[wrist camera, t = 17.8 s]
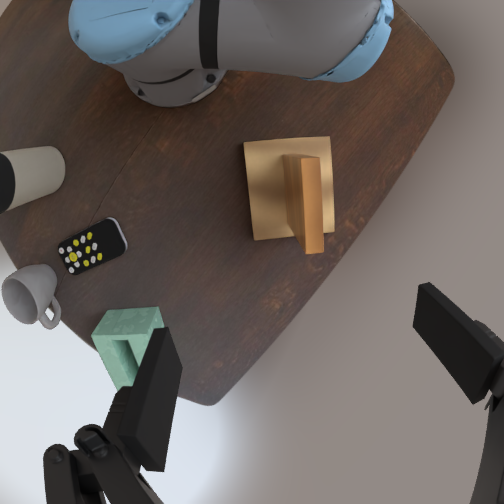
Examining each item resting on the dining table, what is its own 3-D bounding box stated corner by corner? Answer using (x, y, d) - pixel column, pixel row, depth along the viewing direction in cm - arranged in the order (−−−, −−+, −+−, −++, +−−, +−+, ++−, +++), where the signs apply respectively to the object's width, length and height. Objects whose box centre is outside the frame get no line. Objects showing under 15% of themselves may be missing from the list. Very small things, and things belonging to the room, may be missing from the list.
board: (243, 142, 39) (243, 142, 38) (326, 136, 39) (329, 136, 38) (253, 237, 44) (254, 240, 43) (331, 229, 44) (334, 231, 43)
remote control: (131, 248, 44) (127, 253, 42) (75, 273, 45) (70, 278, 43) (115, 213, 42) (110, 216, 40) (59, 242, 43) (53, 246, 41)
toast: (287, 224, 42) (305, 254, 31) (282, 154, 39) (300, 158, 27) (301, 223, 42) (324, 252, 31) (296, 153, 39) (320, 157, 28)
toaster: (133, 374, 53) (123, 402, 46) (107, 309, 48) (90, 335, 40) (179, 373, 53) (173, 403, 46) (158, 306, 48) (146, 333, 40)
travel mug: (49, 136, 36) (-28, 143, 20) (74, 170, 39) (-1, 191, 22) (25, 170, 38) (-49, 191, 21) (48, 203, 40) (-24, 236, 23)
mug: (23, 269, 44) (-6, 291, 35) (45, 246, 43) (14, 267, 34) (58, 317, 48) (35, 345, 39) (83, 299, 47) (59, 328, 38)
